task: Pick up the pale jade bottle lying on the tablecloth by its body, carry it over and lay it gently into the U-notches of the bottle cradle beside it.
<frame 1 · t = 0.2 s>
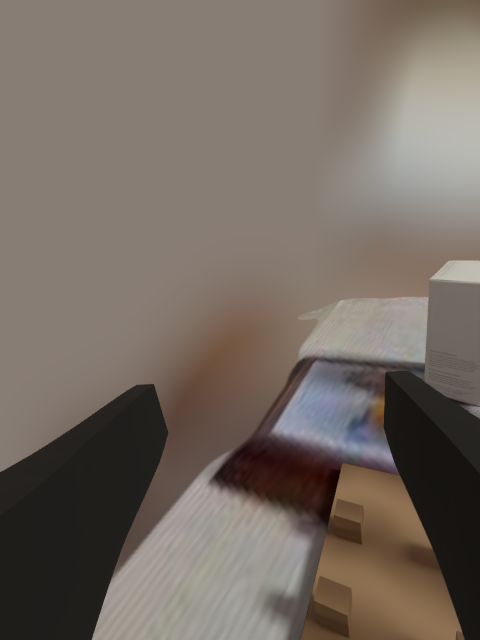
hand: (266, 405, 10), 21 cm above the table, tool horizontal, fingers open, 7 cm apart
bottle cradle: (401, 573, 23), on the table
skincare box: (460, 385, 41), on the table
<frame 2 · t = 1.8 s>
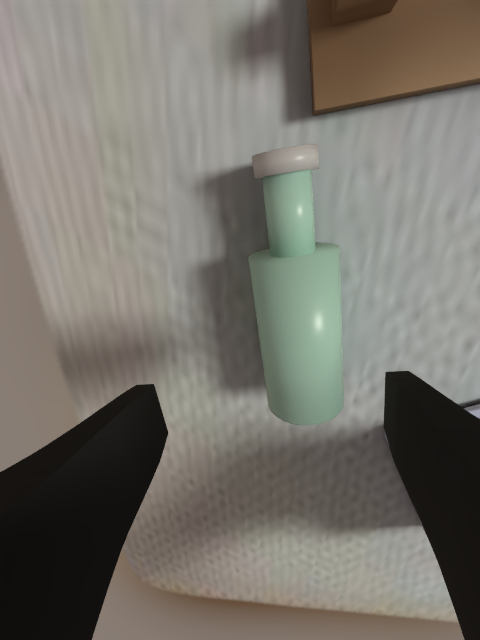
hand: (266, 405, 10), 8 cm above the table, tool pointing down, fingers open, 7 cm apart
bottle: (276, 321, 17), on the table, tilted 35°
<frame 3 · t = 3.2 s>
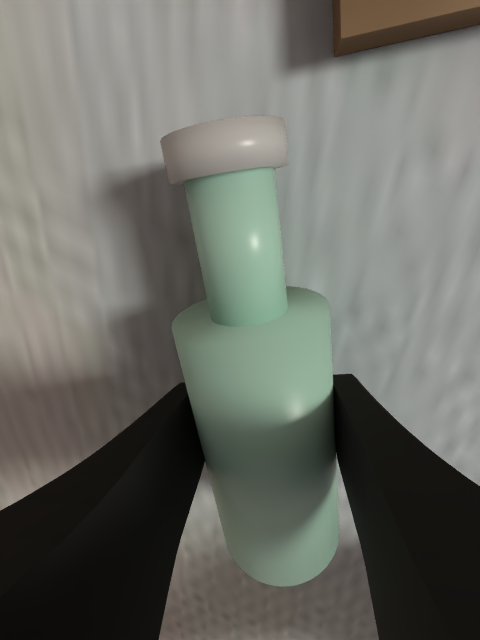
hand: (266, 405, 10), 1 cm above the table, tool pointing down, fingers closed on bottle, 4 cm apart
bottle: (263, 392, 11), on the table, tilted 7°, touching gripper
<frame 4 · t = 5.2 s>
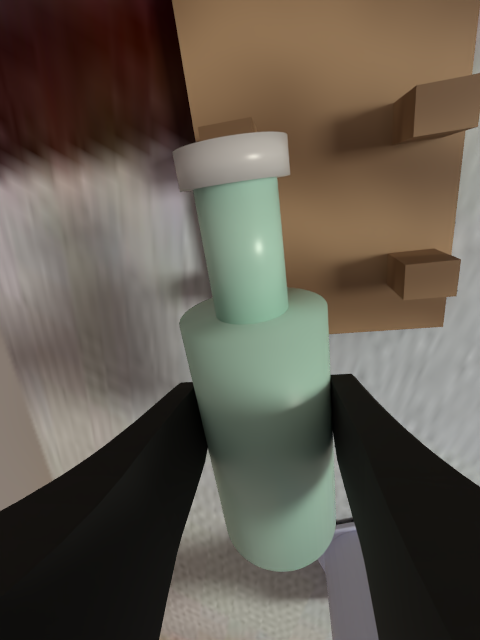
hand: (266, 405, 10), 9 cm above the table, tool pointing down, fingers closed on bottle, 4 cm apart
bottle cradle: (321, 170, 15), on the table
bottle: (255, 390, 12), point 7 cm above the table, tilted 16°, touching gripper
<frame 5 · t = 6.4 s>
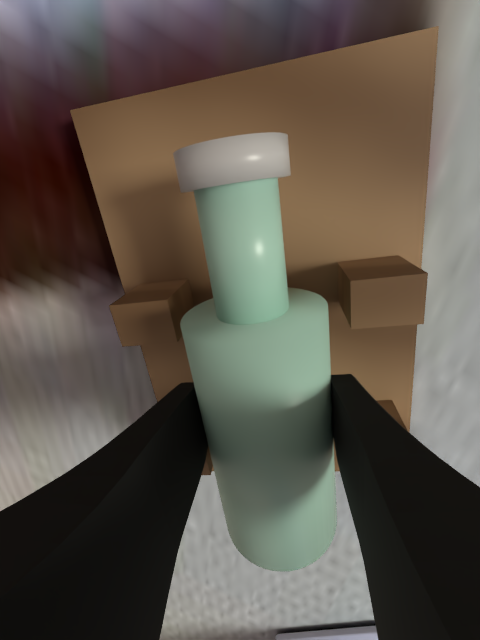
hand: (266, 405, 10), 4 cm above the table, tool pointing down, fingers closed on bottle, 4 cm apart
bottle cradle: (267, 311, 13), on the table
bottle: (256, 390, 12), point 2 cm above the table, tilted 16°, touching gripper
when the fingers open (4 cm above the table, at t = 7.3 s): bottle stays where it is, resting on bottle cradle.
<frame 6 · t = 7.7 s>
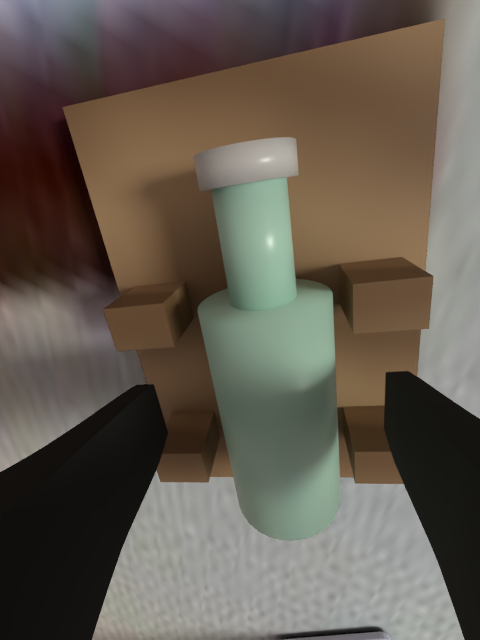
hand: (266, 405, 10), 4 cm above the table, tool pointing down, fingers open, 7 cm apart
bottle cradle: (266, 314, 13), on the table
bottle: (257, 378, 13), point 1 cm above the table, tilted 24°, touching bottle cradle
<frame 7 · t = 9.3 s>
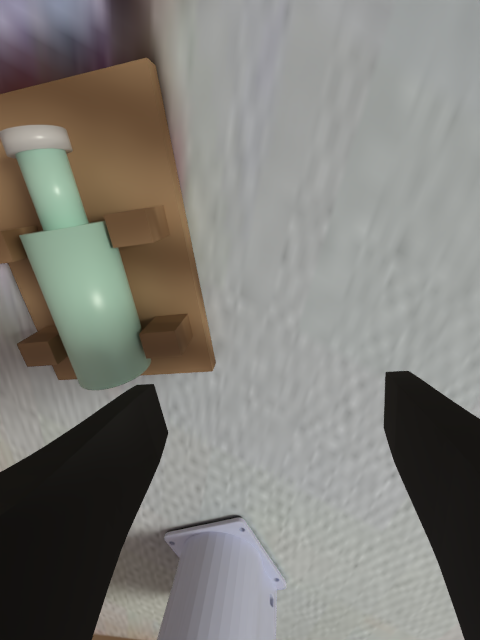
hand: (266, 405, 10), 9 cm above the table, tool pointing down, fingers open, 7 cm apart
bottle cradle: (102, 251, 19), on the table
bottle: (94, 296, 18), point 1 cm above the table, tilted 30°, touching bottle cradle
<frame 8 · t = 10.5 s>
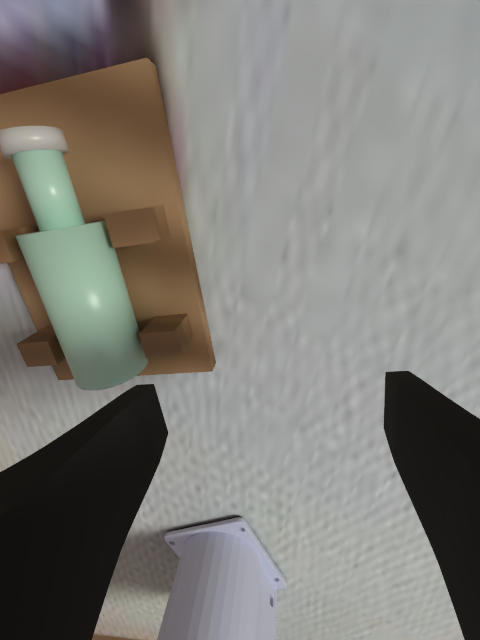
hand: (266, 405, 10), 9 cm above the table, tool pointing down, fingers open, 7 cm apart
bottle cradle: (102, 251, 19), on the table
bottle: (95, 295, 18), point 1 cm above the table, tilted 25°, touching bottle cradle
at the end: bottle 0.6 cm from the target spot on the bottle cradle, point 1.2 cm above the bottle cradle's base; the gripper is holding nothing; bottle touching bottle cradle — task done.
